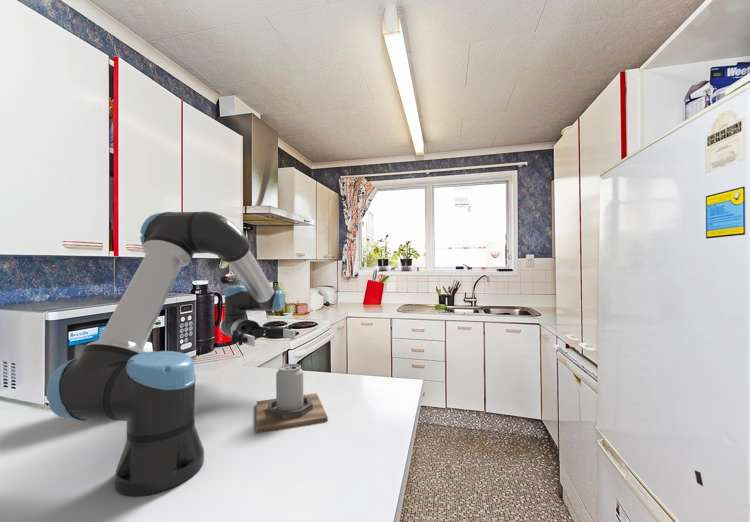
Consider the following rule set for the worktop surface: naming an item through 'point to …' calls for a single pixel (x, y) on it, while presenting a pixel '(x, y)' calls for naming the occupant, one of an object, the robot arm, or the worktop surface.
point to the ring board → (289, 414)
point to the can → (289, 387)
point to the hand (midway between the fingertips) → (274, 338)
